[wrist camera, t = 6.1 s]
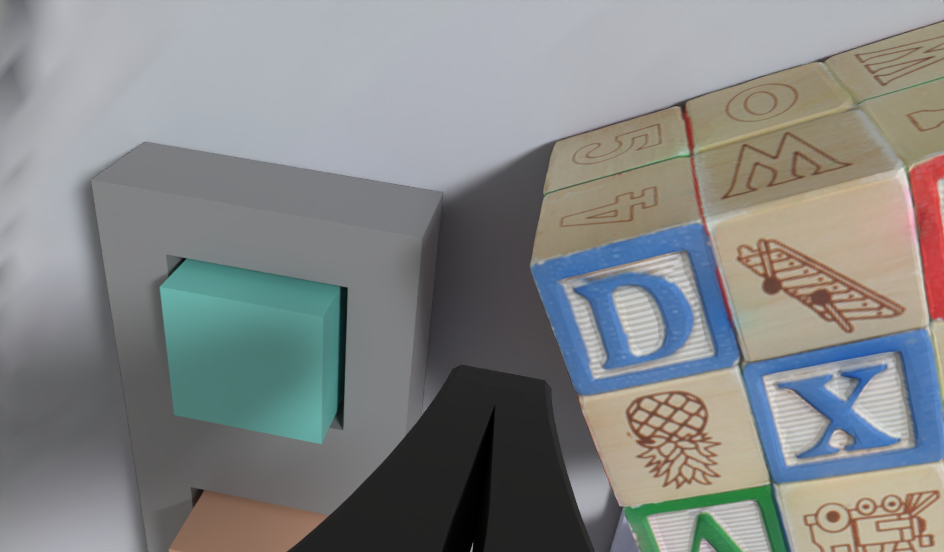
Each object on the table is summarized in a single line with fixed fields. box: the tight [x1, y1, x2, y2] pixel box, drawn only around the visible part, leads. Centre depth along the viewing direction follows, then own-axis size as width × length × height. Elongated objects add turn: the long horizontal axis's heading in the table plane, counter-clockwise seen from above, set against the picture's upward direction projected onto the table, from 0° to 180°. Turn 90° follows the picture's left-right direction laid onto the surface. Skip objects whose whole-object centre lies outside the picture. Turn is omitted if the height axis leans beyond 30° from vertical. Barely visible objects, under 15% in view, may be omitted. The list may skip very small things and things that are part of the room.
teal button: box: [160, 258, 348, 444], centre depth 21 cm, size 4×4×4 cm
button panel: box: [91, 142, 443, 552], centre depth 26 cm, size 24×8×2 cm, turn 174°
